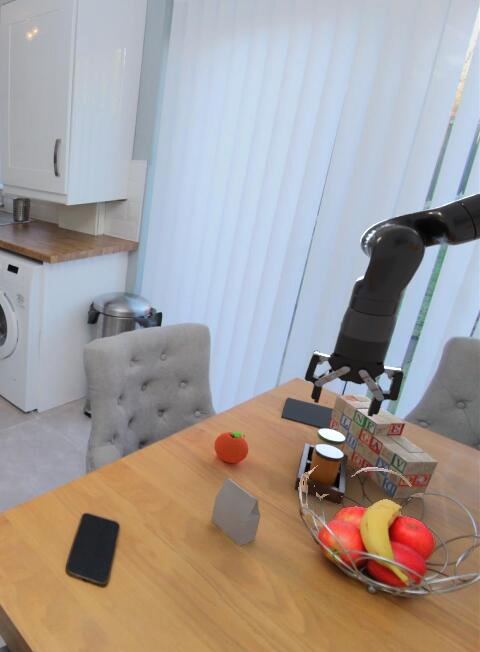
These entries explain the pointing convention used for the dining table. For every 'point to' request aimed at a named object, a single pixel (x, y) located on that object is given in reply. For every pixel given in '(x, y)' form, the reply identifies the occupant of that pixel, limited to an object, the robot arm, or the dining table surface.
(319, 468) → the amber jar
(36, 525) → the dining table surface
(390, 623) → the dining table surface
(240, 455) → the red tomato
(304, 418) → the mat
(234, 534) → the grey paper bag
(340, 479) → the rack
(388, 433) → the stack of blocks
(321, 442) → the beige jar
